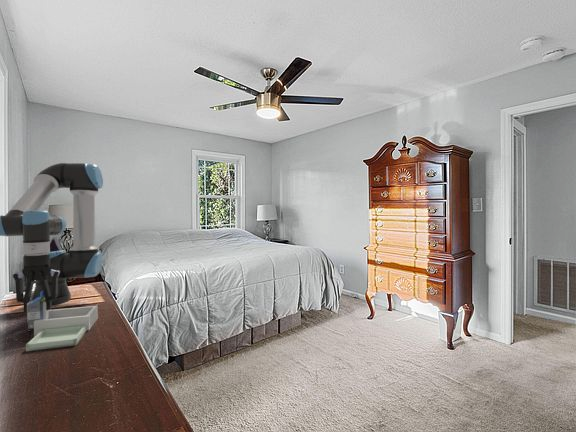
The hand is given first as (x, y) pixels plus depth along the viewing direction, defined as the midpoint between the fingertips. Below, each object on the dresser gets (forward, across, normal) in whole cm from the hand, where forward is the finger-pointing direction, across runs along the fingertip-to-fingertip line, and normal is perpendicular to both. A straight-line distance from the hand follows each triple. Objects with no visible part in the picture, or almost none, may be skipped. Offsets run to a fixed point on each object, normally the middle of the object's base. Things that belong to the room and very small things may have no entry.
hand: (38, 319), depth 115 cm
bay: (+4, +9, 0) cm, 10 cm away
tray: (+3, +10, -14) cm, 17 cm away
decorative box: (+4, -14, +67) cm, 68 cm away
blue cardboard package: (+2, 0, 0) cm, 2 cm away
